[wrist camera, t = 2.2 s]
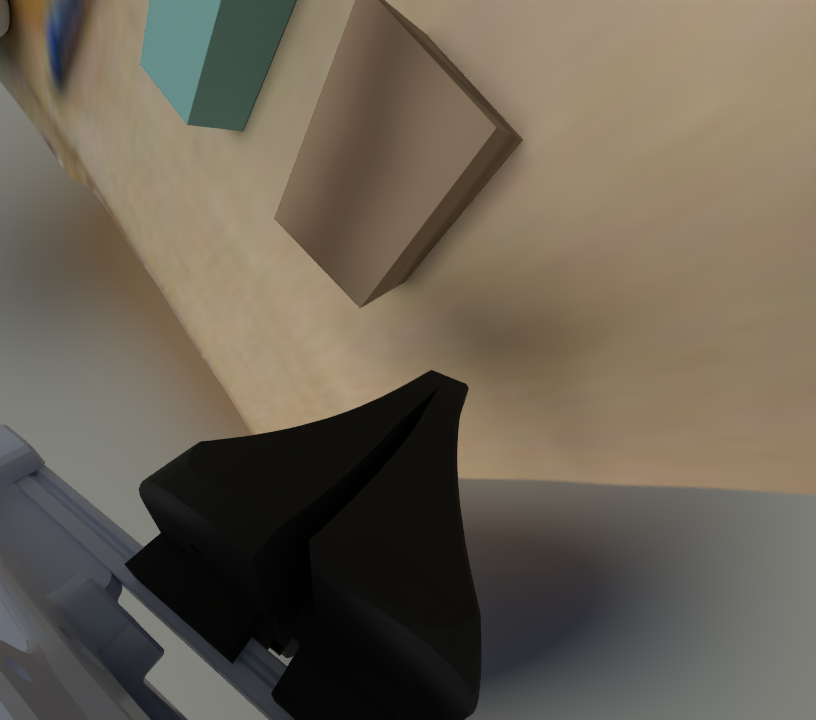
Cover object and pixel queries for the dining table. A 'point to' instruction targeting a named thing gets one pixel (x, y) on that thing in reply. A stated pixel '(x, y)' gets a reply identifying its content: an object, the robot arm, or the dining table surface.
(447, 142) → the block
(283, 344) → the dining table surface
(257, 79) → the teal rectangular bar
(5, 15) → the mug
